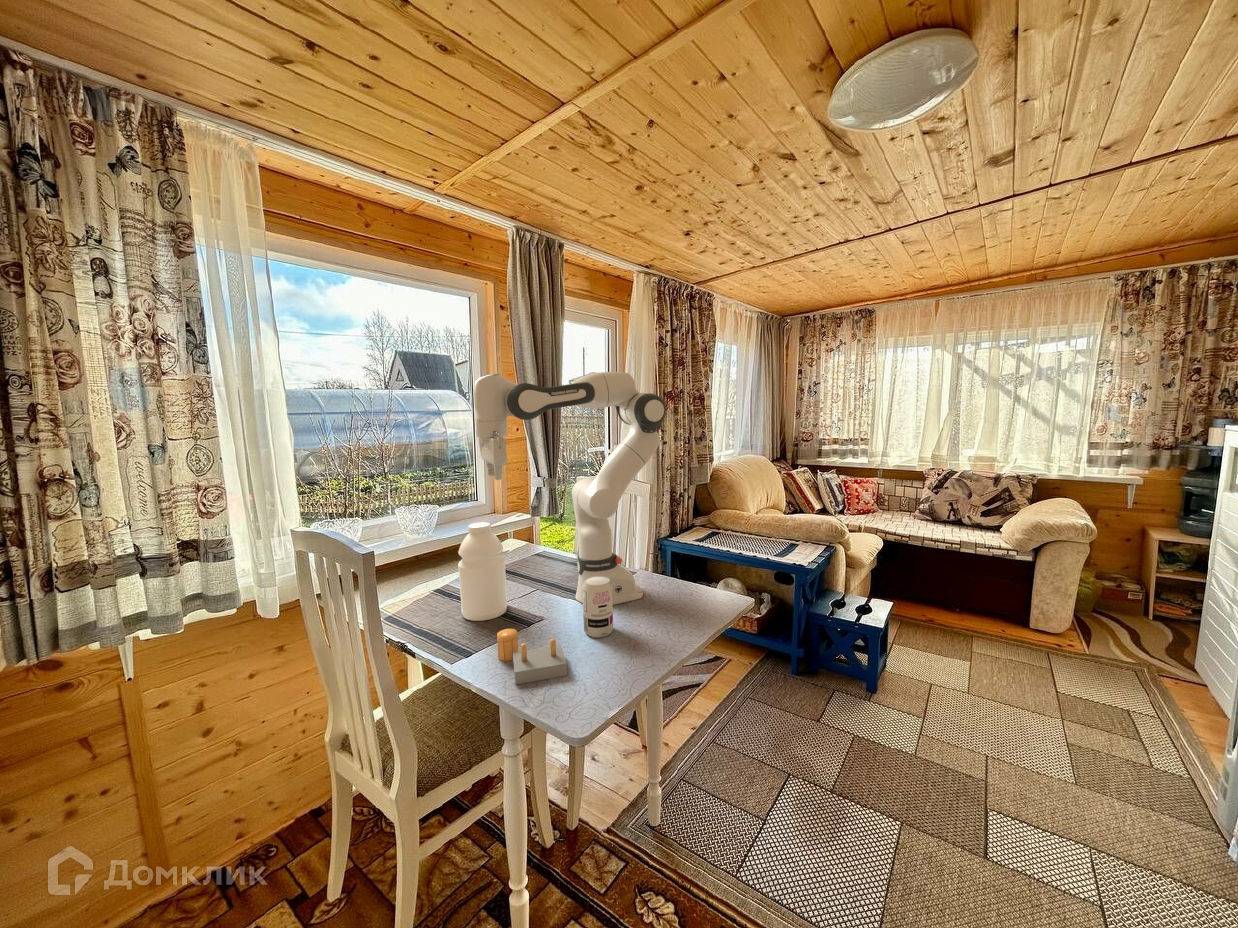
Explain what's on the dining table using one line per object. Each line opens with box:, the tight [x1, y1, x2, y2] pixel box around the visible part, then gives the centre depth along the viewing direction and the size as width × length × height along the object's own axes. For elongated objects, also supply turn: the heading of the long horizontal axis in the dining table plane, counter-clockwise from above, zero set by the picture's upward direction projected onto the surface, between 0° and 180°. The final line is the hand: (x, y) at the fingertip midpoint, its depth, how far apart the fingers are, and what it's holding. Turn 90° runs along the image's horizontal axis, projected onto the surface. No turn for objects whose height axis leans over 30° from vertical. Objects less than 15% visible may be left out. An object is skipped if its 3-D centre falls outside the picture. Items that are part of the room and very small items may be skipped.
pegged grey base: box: [512, 637, 568, 685], centre depth 112 cm, size 12×9×7 cm
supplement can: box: [582, 576, 614, 639], centre depth 129 cm, size 8×8×15 cm
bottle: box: [457, 521, 509, 622], centre depth 143 cm, size 14×14×28 cm
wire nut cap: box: [496, 628, 519, 662], centre depth 118 cm, size 5×5×6 cm
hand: (494, 477), depth 137 cm, fingers open, 8 cm apart
